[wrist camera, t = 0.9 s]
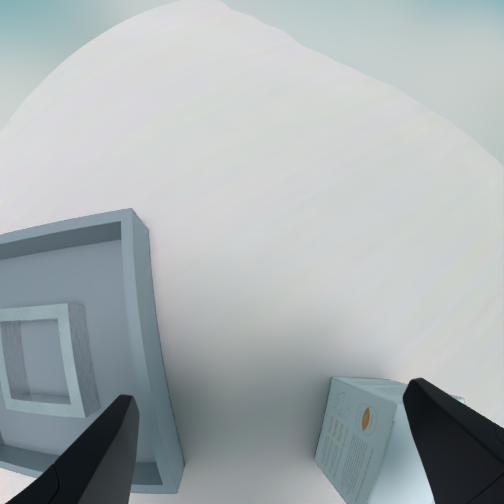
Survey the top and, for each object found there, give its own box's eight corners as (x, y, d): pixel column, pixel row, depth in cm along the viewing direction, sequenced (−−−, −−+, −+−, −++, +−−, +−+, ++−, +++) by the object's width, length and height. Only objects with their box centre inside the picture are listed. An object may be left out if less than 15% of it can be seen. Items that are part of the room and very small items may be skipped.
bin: (185, 464, 20) (177, 493, 15) (7, 447, 18) (-20, 459, 13) (148, 229, 24) (131, 208, 19) (-19, 259, 22) (-49, 247, 17)
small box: (368, 458, 21) (432, 507, 11) (311, 459, 21) (358, 524, 11) (388, 377, 23) (468, 397, 13) (330, 374, 23) (397, 402, 13)
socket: (100, 408, 19) (85, 418, 17) (24, 403, 18) (6, 409, 16) (84, 306, 21) (67, 303, 18) (11, 311, 20) (-9, 309, 17)
